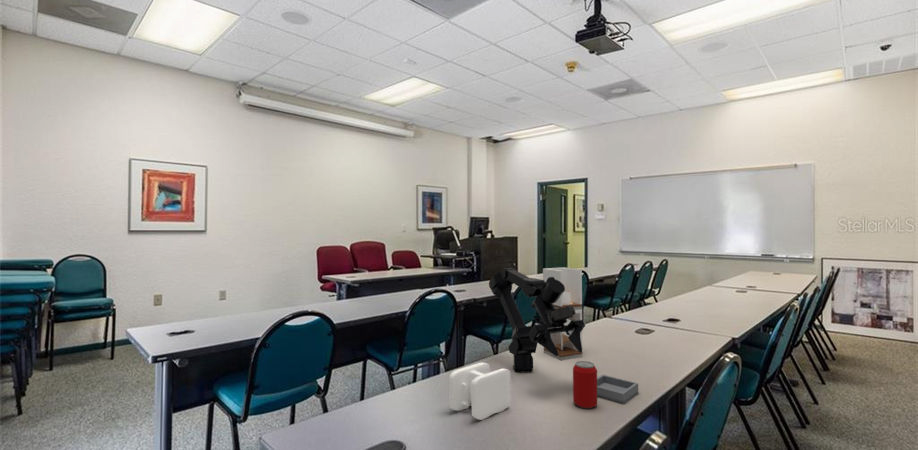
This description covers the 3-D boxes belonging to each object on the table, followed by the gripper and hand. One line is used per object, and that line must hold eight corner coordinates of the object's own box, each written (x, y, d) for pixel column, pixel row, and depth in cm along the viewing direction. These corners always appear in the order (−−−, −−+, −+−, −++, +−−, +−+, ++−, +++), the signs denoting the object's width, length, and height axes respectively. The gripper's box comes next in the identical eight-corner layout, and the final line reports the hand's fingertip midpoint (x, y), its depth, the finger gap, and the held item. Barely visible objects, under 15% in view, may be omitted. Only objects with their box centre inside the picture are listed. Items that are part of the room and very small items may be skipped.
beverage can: (598, 402, 123) (598, 361, 124) (595, 411, 117) (595, 368, 117) (575, 398, 126) (574, 358, 126) (571, 407, 120) (571, 365, 120)
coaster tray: (586, 393, 130) (586, 384, 130) (602, 383, 138) (602, 374, 138) (623, 404, 122) (623, 394, 122) (638, 392, 130) (638, 383, 130)
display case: (543, 352, 173) (543, 268, 173) (564, 349, 178) (563, 267, 178) (561, 360, 163) (560, 271, 163) (582, 356, 167) (581, 269, 168)
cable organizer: (473, 425, 110) (473, 381, 110) (447, 412, 118) (447, 370, 118) (511, 408, 120) (511, 368, 120) (485, 397, 127) (484, 359, 128)
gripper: (533, 299, 129) (556, 343, 119) (581, 294, 137) (606, 336, 127) (520, 319, 136) (540, 363, 126) (565, 314, 144) (588, 355, 134)
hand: (569, 353), depth 128 cm, fingers open, 9 cm apart
